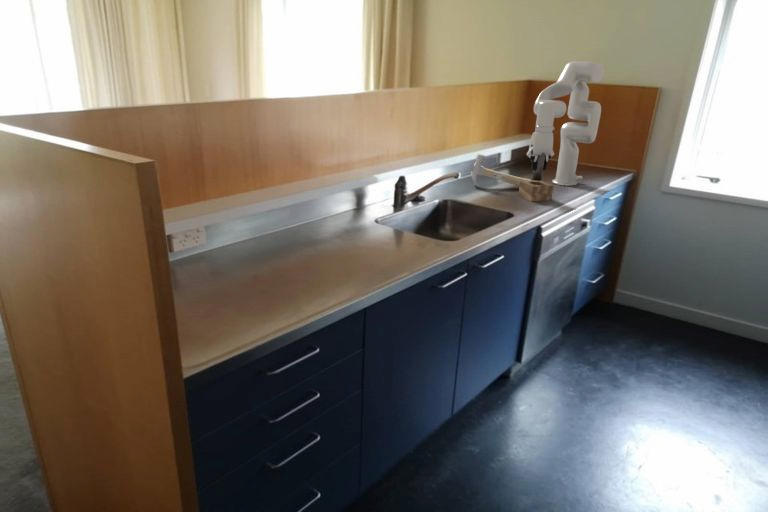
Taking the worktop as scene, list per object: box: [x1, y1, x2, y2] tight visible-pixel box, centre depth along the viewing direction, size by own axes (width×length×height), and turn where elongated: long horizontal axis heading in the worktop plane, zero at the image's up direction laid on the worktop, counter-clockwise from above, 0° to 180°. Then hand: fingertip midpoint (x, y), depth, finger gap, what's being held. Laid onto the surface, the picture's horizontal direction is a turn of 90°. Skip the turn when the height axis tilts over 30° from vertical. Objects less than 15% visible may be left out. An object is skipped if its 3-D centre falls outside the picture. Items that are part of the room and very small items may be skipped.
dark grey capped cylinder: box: [531, 152, 545, 181], centre depth 246 cm, size 4×4×14 cm
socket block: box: [518, 180, 554, 202], centre depth 251 cm, size 11×11×7 cm
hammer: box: [470, 153, 532, 188], centre depth 268 cm, size 16×5×30 cm
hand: (538, 169), depth 247 cm, fingers closed on dark grey capped cylinder, 4 cm apart
